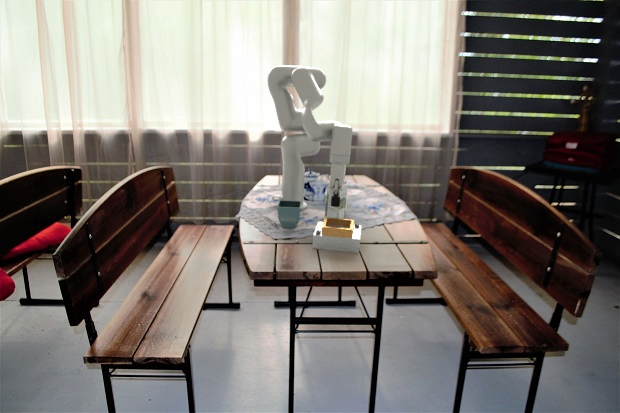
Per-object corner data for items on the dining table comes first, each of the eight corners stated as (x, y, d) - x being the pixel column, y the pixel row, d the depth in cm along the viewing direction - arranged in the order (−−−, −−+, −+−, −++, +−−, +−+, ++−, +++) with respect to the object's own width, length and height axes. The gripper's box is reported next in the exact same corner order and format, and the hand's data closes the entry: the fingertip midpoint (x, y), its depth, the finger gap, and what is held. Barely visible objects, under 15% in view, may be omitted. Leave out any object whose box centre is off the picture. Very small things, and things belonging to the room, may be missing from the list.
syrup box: (332, 215, 179) (335, 180, 175) (344, 219, 176) (348, 184, 171) (324, 219, 175) (327, 183, 170) (337, 223, 172) (340, 187, 167)
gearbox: (312, 248, 155) (313, 228, 152) (317, 233, 168) (318, 214, 166) (358, 253, 153) (360, 232, 151) (360, 238, 166) (362, 218, 164)
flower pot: (278, 221, 179) (279, 199, 177) (300, 222, 179) (301, 200, 176) (276, 229, 171) (277, 206, 168) (299, 230, 171) (300, 207, 168)
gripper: (332, 152, 176) (328, 195, 182) (327, 162, 160) (323, 209, 166) (351, 154, 175) (347, 197, 181) (348, 164, 159) (344, 211, 165)
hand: (336, 202), depth 173 cm, fingers closed on syrup box, 7 cm apart
